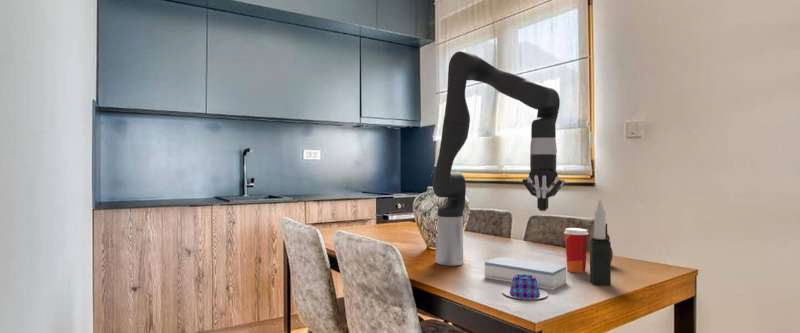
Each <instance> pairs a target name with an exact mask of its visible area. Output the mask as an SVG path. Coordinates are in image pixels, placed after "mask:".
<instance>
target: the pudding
mask: <svg viewBox="0 0 800 333" xmlns="http://www.w3.org/2000/svg"><path fill="white" fill-rule="evenodd" d="M508 293H509V294H510V295H511V296H510V295H509V294H508ZM502 294H503V295H505V296H507V297H510V298H514V299H520V300H522V299H526V300H541V299H544V298H546V297H548V292H547V291H545V290H542V289H539V287H538V285H537V281H536V278H535V277H534V276H532V275H526V274H518V275H515V276H514V277H513V281H512V282H511V285H510V287H505V288H504V289H503V290H502ZM515 296H516V297H515ZM517 297H518V298H517ZM521 298H522V299H521Z"/></svg>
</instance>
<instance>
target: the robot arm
mask: <svg viewBox="0 0 800 333" xmlns="http://www.w3.org/2000/svg"><path fill="white" fill-rule="evenodd" d="M447 69H448V71H447V90H446V91H447V92H446V101H445V109H444V116H443V120H442V121H443V123H442V129H441V137H440V138H441V139H440V146H439V151H438V155H437V156H438V157H437V161H436V164H435V169H434V174H433V177H432V190H433V193H434V195H435V196H436V197H438V198H447V199H446V202H444V204H443V205H441V206H439V207H438V209H437V235H436V236H435V239H434V240H435V241H434V243H435V250H434V251H435V257H434V258H435V263H436V264H438V265H442V266H451V267H452V266H454V267H455V266H461V265H463V264H464V211H465V207H466V194H467V193H466V192H467V190H466V189H467V186H466V179H465V177H464V175H463V173H461V172H460V171H452V168H453V164H454V161H455V158H456V157H457V155H458V154H459V152H460V151H461V149H462V148H463V146H464V145H465V143H466V141H467V139H468V136H469V131H470V124H471V115H470V111H469V107H468V103H467V99H466V89H467V88H466V87H467V81H475V82H479V83H484V84H486V85H489V86H490V87H492V88H494V89H495V90H496V91H497V92H498V93H500V94H503V95H505V96H507V97H509V98H512V99H514V100H516V101H519V102H521V103H522V104H524V105H526V106H528V107H529V108H532V109H534V110H537V114H536V118H535V119H533V120H532V122H531V127H530V129H531V130H530V146H529V147H530V148H529V150H530V151H529V152H530V154H529V156H530V157H529V158H530V159H529V161H530V162H529V163H530V165H529V167H530V171H529V174H528V177H526V178H523V179H522V180H521V183H523V185H524V186H525V188H526V189H527V190H528V192H529V193H530V195H531V196H534V197H535V198H536V199H537V200H536V201H537V209H538V211H540V212H541V211H542V212H546V211H547V210H548V209H549V199H550V198H551V197H555V196H556V195H557V193H558V192H559V191H560V189H561V188H562V187H564V184H565V183H566V182H565V180H563V179H561V178H560V177H558V176H559V175H558V172H557V154H558V149H557V141H556V140H557V139H556V138H557V136H556V134H557V133H556V131H557V129H556V124H557V120H558V114H559V111H560V104H561V102H560V100H561V99H560V96H559V93H558V92H557V90H556V89H554V88H552V87H548V86H547V87H546V86H544V85H540V84H537V83H535V82H532V81H530V80H528V79H527V78H525V77H523V76H520V75H518V74H515V73H512V72H510V71H506V70H503V69H501V68H499V67H496V66H494V65H492V64H491V63H489V62H488V61H486V60H484V59H483V58H482V57H480V56H479V55H477V54H475V53H472V52H466V51H463V50H461V51H456V52H455V53H453V55H452V56H451V58H450V59H449V62H448V68H447ZM553 184H554V185H553ZM552 185H553V187H552ZM551 187H552V188H551Z"/></svg>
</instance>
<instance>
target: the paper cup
mask: <svg viewBox="0 0 800 333" xmlns="http://www.w3.org/2000/svg"><path fill="white" fill-rule="evenodd" d="M563 233H564V239H565V254H566V255H565V256H566V271H567V272H569V273H572V274H573V273H575V274H583V273H586V266H587V252H588V250H587V249H588V236H589V232H588V229H587V228H586V229H585V228H580V227H567V228H565V229H564V232H563Z"/></svg>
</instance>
